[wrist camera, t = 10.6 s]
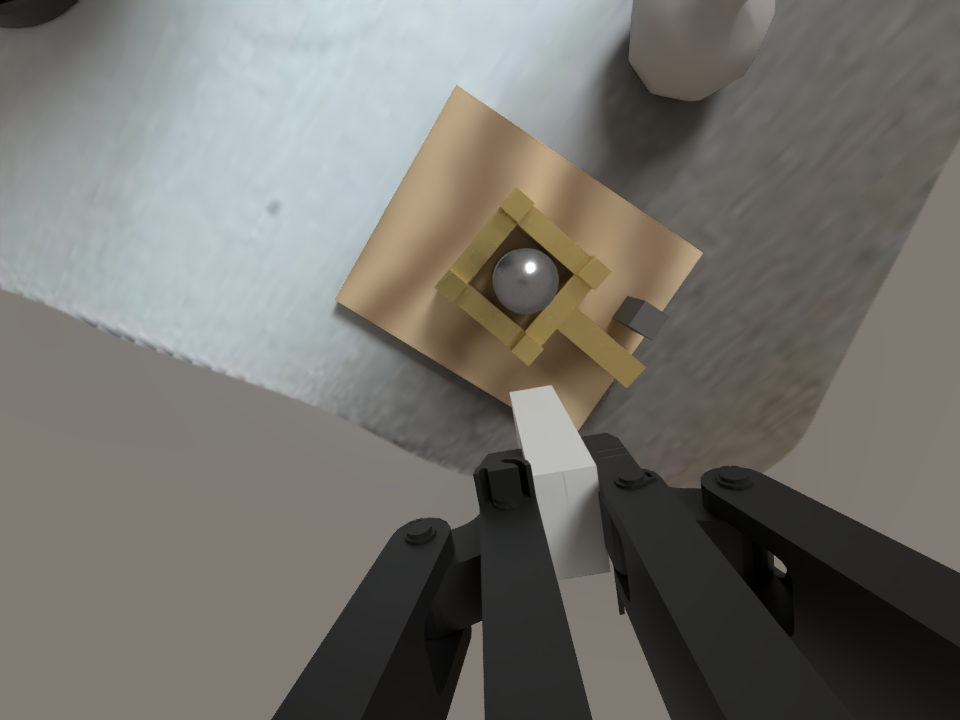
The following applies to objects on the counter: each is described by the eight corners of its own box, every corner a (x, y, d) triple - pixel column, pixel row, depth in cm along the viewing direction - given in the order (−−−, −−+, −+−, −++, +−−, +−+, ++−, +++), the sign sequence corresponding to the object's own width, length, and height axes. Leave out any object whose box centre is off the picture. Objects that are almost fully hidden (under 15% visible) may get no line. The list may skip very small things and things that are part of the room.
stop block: (612, 317, 39) (628, 325, 34) (627, 295, 38) (645, 300, 34) (633, 331, 39) (652, 340, 35) (648, 309, 39) (669, 316, 34)
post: (481, 283, 39) (481, 292, 31) (508, 240, 39) (516, 235, 30) (523, 310, 40) (535, 326, 31) (551, 267, 39) (571, 271, 30)
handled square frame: (439, 283, 38) (433, 287, 33) (511, 195, 37) (515, 186, 32) (586, 406, 40) (601, 426, 35) (660, 326, 39) (684, 336, 34)
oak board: (338, 298, 40) (334, 299, 39) (457, 90, 37) (456, 85, 35) (567, 437, 42) (569, 442, 41) (696, 253, 39) (703, 253, 38)
